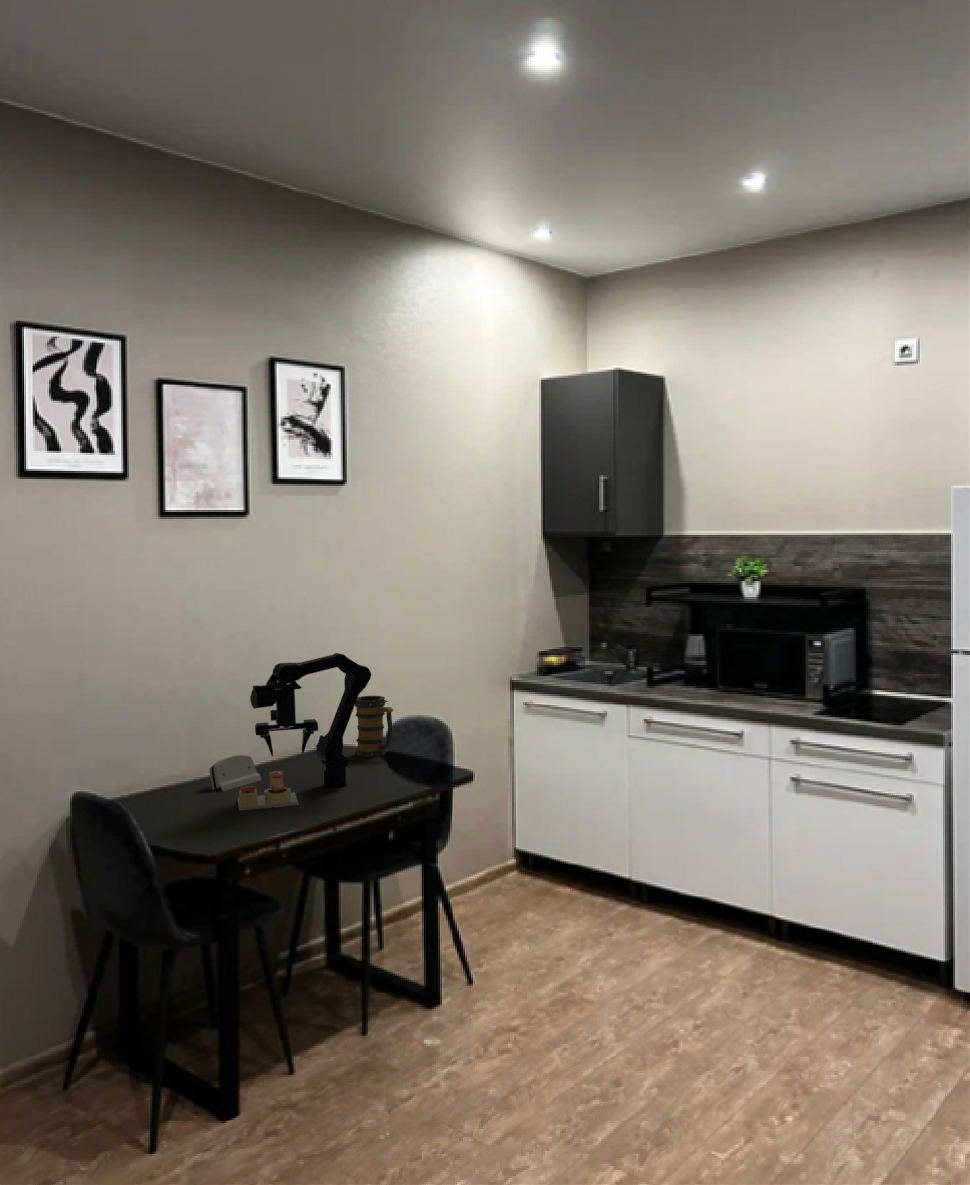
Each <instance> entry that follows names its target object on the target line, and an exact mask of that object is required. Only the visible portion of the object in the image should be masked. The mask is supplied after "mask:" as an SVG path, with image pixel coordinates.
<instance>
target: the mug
mask: <svg viewBox="0 0 970 1185" xmlns="http://www.w3.org/2000/svg"><path fill="white" fill-rule="evenodd" d="M385 698H386V697H385V696H383V695H364V696H363V695H362V696H358V698H357V701H356V703H355V706H354V708H355V707H356V712H355V717H357V726H356V728H357V730H358V731H357V732H358V734H357V736H358V737H357V739H355V740H356V743H357V748H356V750H354V751H353V753H355V754H356V756H358V757H362V758H376V757H382V756H384V755H386V754H387V752H389V751H390V750H389V749H388V748H389V747H390V746H391V743H392V739H393V732H394V729H393V720H392V713H393V712H394V711H395V709H394V708H392V707H391V706H385V705H386V703H388V700H386V699H385ZM384 715H386V724H387V736H386V737H385V736H384V728H385V725H384V723H383V722H384V721H383V720H384V718H383V717H384Z"/></svg>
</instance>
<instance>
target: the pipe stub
mask: <svg viewBox="0 0 970 1185" xmlns="http://www.w3.org/2000/svg"><path fill="white" fill-rule="evenodd" d="M285 774H286V772H285V771H284V770H273V771H270V772H269V773H268V777H269V779H270V780H269V782H270V788H271V793H282V792H284V787H285V776H286V775H285Z"/></svg>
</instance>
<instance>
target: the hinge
mask: <svg viewBox="0 0 970 1185" xmlns="http://www.w3.org/2000/svg"><path fill="white" fill-rule="evenodd" d="M208 771H209V772H208V773H209V777H210V783H211V788H212V790H216V789H220V788H221V792H226V791H230V790H233V789H236V788H239V787H240V788H241V787H242V786H246V785H251V784H252V783H253V784H254V783H257V782H259V781H262V776H261V774H260V773H258V771H257V768H256V766H255V764H254V760H253V758H252V757H251V756H249V755H232V756H228V757H225V758H223V759H220V760H218V761H217V762H216V763H214V764H213V765H211V766H210V767H209V770H208Z"/></svg>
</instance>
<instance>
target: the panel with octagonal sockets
mask: <svg viewBox="0 0 970 1185" xmlns="http://www.w3.org/2000/svg"><path fill="white" fill-rule="evenodd" d="M238 792H239V797H237V805H238V806H237V807H238V811H249V810H263V809H272V807H274V808H282V807H284V808H285V807H293V806H299V801H298V798H297V795H296V792H292V790H291V788H290V787H285V786H284V792H282V793H271V787H270V788H267V789H264V794H263V795H258V789H257V788H256V785H254V784H246V785H243V786H240V789H239V791H238ZM262 808H263V809H262Z"/></svg>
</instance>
